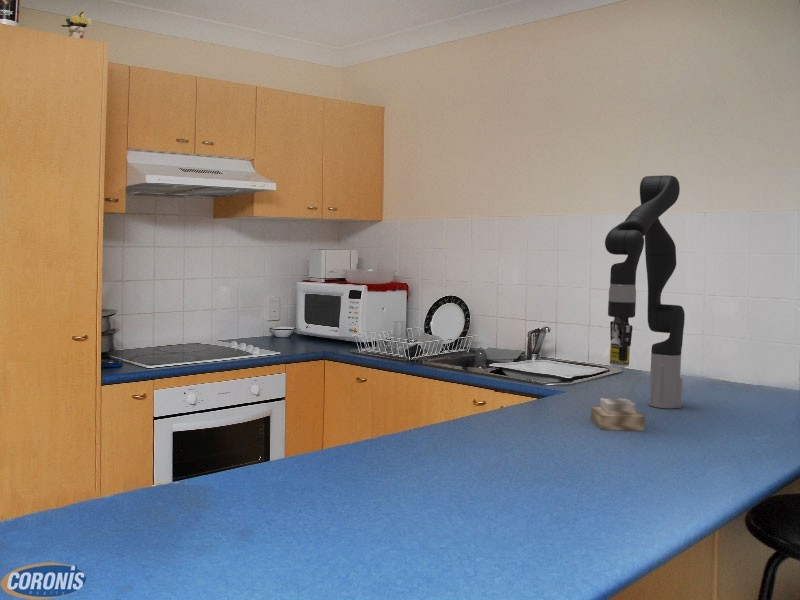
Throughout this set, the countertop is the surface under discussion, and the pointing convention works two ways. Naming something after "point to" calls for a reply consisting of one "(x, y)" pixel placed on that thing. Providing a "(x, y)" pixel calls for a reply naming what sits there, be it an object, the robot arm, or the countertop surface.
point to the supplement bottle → (617, 353)
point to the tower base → (617, 415)
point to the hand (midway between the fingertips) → (619, 358)
